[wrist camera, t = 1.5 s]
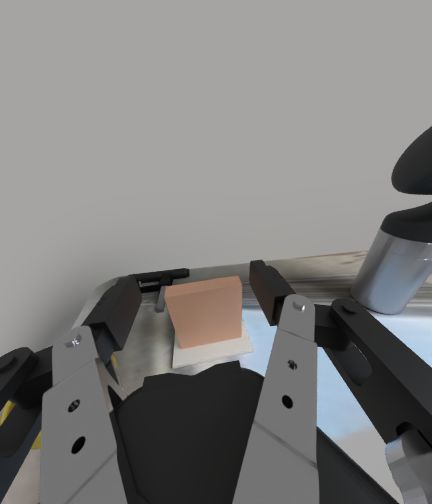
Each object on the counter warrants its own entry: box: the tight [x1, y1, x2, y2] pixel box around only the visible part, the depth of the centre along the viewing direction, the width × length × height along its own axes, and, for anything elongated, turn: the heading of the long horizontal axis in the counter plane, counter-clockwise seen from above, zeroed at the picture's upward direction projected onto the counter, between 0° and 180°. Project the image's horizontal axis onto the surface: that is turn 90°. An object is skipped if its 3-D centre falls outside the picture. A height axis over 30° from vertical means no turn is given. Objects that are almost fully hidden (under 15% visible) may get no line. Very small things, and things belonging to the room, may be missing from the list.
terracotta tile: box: [164, 275, 242, 349], centre depth 28 cm, size 12×2×14 cm, turn 99°
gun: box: [127, 268, 189, 312], centre depth 45 cm, size 3×20×16 cm
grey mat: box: [173, 318, 254, 369], centre depth 36 cm, size 15×18×1 cm
